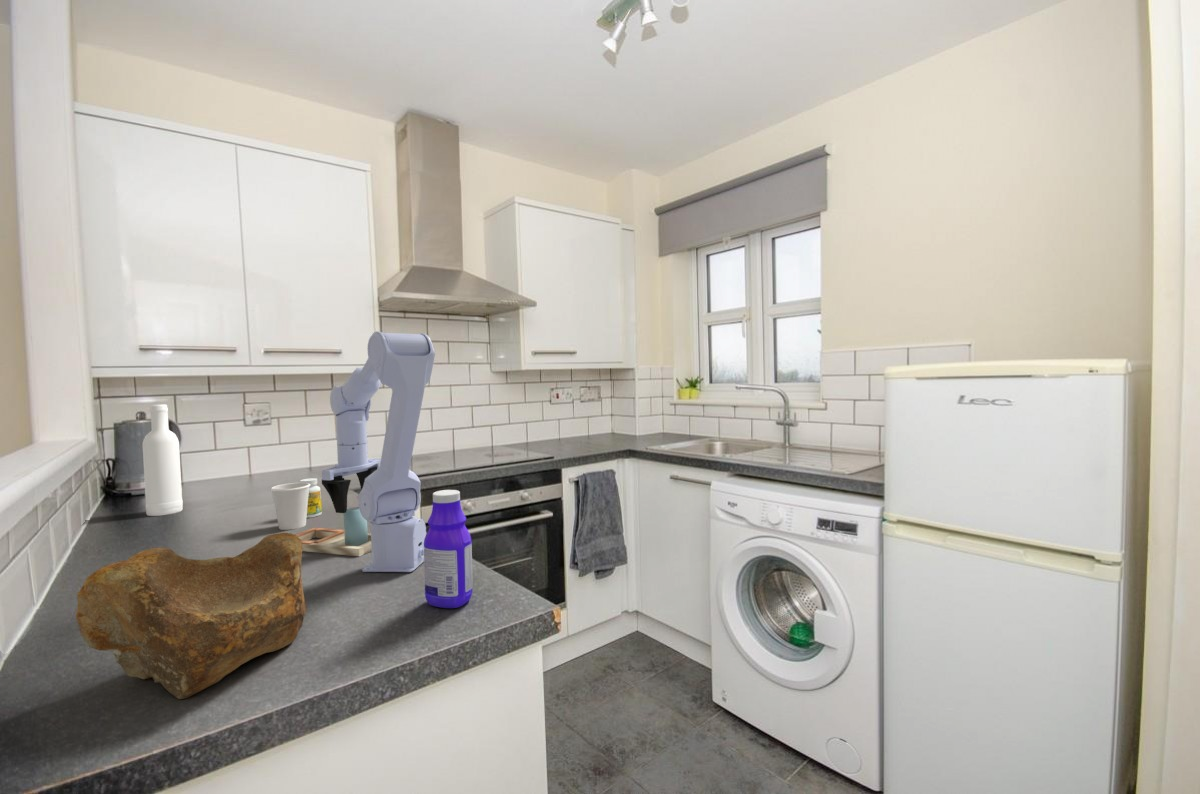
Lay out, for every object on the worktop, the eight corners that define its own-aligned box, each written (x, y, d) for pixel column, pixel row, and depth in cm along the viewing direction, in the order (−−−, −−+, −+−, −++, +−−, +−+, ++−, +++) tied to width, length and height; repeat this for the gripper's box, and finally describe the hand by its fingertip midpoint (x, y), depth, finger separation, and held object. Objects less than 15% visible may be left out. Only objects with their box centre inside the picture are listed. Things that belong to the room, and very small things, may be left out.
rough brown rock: (77, 759, 50) (74, 609, 49) (77, 677, 62) (75, 554, 61) (334, 668, 67) (337, 554, 66) (296, 617, 79) (298, 519, 77)
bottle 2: (479, 597, 83) (476, 489, 83) (459, 613, 78) (454, 497, 77) (441, 592, 86) (437, 487, 85) (418, 607, 80) (414, 494, 80)
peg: (372, 543, 113) (370, 507, 112) (361, 550, 108) (359, 512, 108) (352, 543, 113) (350, 507, 113) (340, 550, 109) (339, 512, 108)
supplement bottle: (320, 512, 142) (319, 476, 142) (323, 516, 137) (321, 479, 137) (297, 515, 139) (296, 479, 139) (299, 519, 134) (297, 482, 134)
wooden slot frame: (391, 541, 114) (391, 533, 114) (359, 556, 105) (359, 547, 105) (315, 535, 120) (314, 527, 120) (278, 548, 111) (278, 540, 111)
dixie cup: (274, 524, 130) (272, 484, 129) (312, 520, 134) (310, 481, 133) (270, 533, 122) (268, 491, 122) (311, 528, 126) (309, 486, 126)
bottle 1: (169, 508, 150) (163, 404, 149) (190, 509, 148) (184, 403, 147) (138, 515, 143) (132, 405, 142) (160, 516, 141) (153, 405, 140)
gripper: (361, 439, 118) (364, 498, 118) (308, 448, 104) (311, 515, 105) (388, 439, 116) (390, 500, 116) (337, 448, 102) (340, 517, 103)
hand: (354, 507), depth 110 cm, fingers open, 7 cm apart
